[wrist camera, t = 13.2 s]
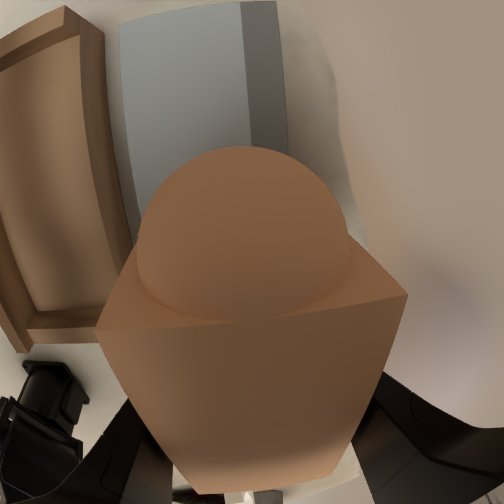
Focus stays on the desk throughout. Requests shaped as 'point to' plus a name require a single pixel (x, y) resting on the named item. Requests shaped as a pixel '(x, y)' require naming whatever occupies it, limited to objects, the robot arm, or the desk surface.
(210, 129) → the panel
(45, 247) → the tray
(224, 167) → the dome topped block
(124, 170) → the desk surface
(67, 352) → the desk surface
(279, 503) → the coffeepot
